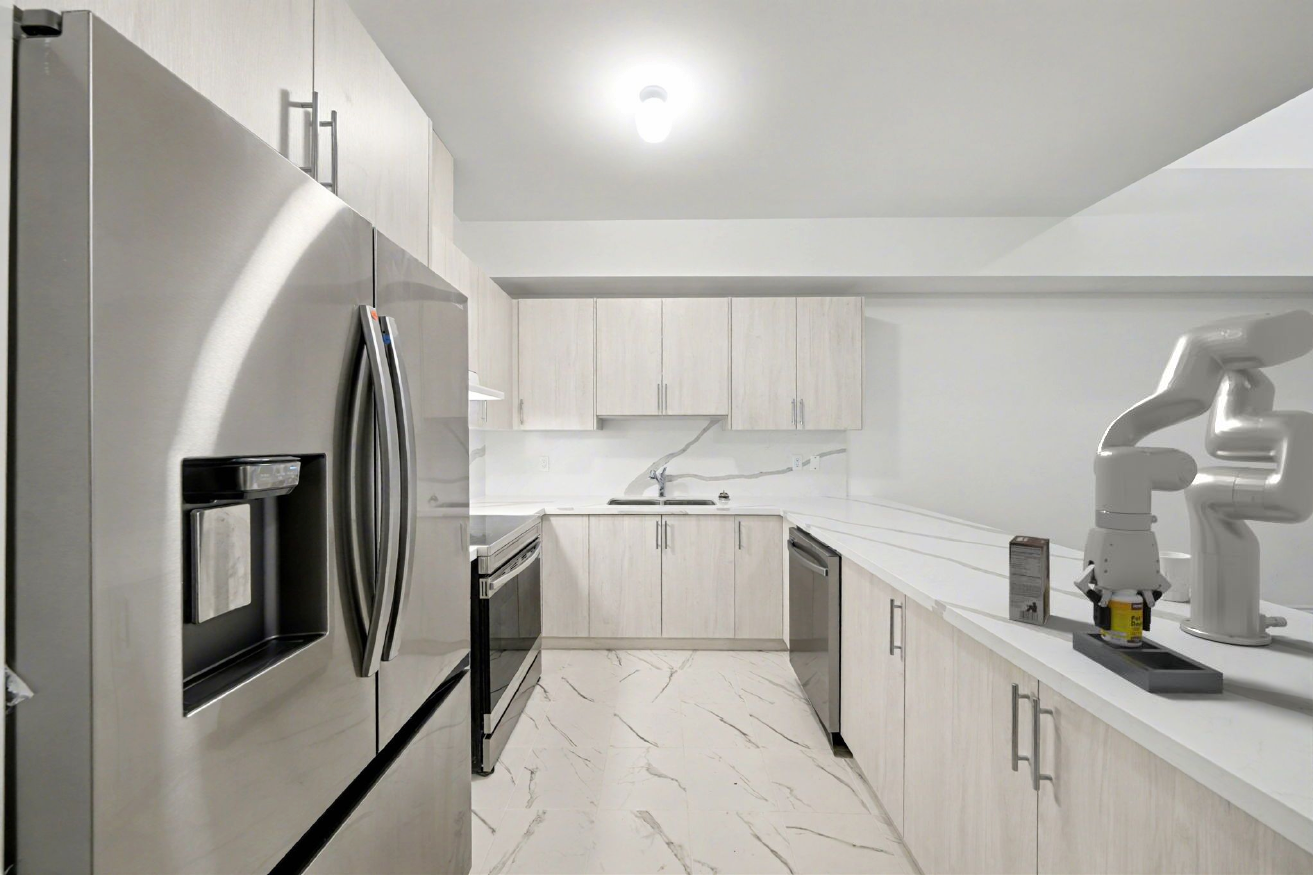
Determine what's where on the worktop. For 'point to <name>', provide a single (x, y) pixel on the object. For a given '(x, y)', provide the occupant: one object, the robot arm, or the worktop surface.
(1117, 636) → the supplement bottle
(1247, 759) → the worktop surface
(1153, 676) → the dark grey divided tray
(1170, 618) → the worktop surface
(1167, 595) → the white cup
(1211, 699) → the worktop surface
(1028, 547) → the coffee box
